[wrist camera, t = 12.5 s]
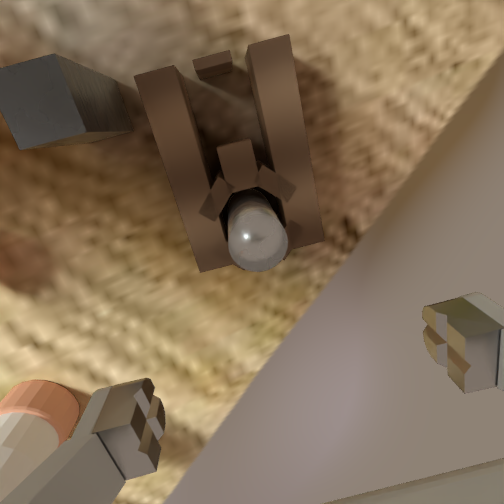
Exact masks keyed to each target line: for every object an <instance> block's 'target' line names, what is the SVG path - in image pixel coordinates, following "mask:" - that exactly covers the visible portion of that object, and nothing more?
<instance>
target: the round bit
mask: <svg viewBox="0 0 504 504" xmlns="http://www.w3.org/2000/svg"><path fill="white" fill-rule="evenodd" d="M228 247H229V252H230V255H231V257H232V259H233V260H234V261H235V262H236V263H237V264H238V265H239V266H240V267H242V268H244V269H246V270H249V271H254V272H260V271H266V270H269V269H271V268H273V267H274V266H276V265H277V264H278V263H279V262H280V261H281V260H282V259H283V257H284V256H285V254H286V251H287V247H288V238H287V234H286V232H285V230H284V228H283V226H282V224H281V223H280V221H279V219H278V218H277V216H276V214H275V212H274V211H273V209H272V207H271V205H270V204H269V202H268V200H267V199H266V197H265V196H264V195H263V194H262V193H261V192H259V191H257V190H255V189H245V190H241V191H238V192H237V193H235V194H234V195H233V196H232V197H231V199H230V201H229V204H228Z"/></svg>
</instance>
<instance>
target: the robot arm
mask: <svg viewBox="0 0 504 504" xmlns="http://www.w3.org/2000/svg"><path fill="white" fill-rule="evenodd" d="M422 318H423V320H424V321H425V322H426V323H427V324H428V325H427V326H426V328H425V329H424V331H423V335H424V342H425V345H426V348H427V350H428V352H429V354H430V355H431V357H432V358H433V359H434V360H435V361H436V363H437V364H440V365H442V366H445V367H447V369H448V376H449V377H450V378H451V379H452V380H453V382H454V383H455V384H456V385H457V386H458V387H459V388H460V389H461V390H462V391H463V392H464V394H465V393H470V392H474V391H479V390H483V389H488V388H492V387H497V386H498V389H500V390H502V391H504V308H503V307H502V306H500V305H499V304H497V303H496V302H494V301H492V300H491V299H489V298H488V297H486V296H485V295H483V294H482V293H478V292H475V293H471V294H467V295H464V296H460V297H458V298H455V299H451V300H447V301H444V302H440V303H436V304H432V305H429V306H424V308H423V311H422ZM154 389H155V387H154V385H153V383H152V381H151V379H149V378H143V379H139V380H134V381H130V382H126V383H121V384H117V385H114V386H110V387H105V388H101V389H98V390H96V391H95V392H94V393H93V394H92V396H91V399H90V401H89V403H88V405H87V407H86V409H85V411H84V413H83V415H82V417H81V419H80V421H79V423H78V425H77V427H76V429H75V431H74V433H73V435H72V437H71V439H70V440H67V441H64V442H63V443H62V444H61V445H60V446H59V447H58V448H57V449H56V450H55V451H54V452H53V453H52V454H51V455H50V456H49V457H48V458H46V459H45V460H44V461H43V462H42V463H41V464H40V465H39V466H38V467H37V468H36V469H35V470H34V471H33V472H32V473H31V474H30V475H28V476H27V477H26V478H25V479H24V480H23V481H22V482H21V483H20V484H19V485H18V486H17V487H16V488H15V489H14V490H13V491H12V492H10V493H9V494H8V495H7V496H6V497H5V498H4V499H3V500H2V501H1V502H0V504H112V502H113V501H114V499H115V498H116V496H117V495H118V493H119V492H120V490H121V489H122V487H123V486H124V484H125V483H126V482H125V480H129V479H132V478H136V477H139V476H143V475H146V474H150V473H153V472H156V471H157V466H158V461H159V456H160V451H161V447H160V445H159V443H158V440H159V439H160V438H161V436H162V435H163V434H164V430H165V424H166V423H165V411H164V407H163V404H162V402H161V399H160V398H158V397H156V396H154V395H153V393H154ZM322 504H504V458H502V459H498V460H494V461H490V462H486V463H482V464H478V465H474V466H470V467H466V468H462V469H458V470H454V471H450V472H446V473H442V474H438V475H434V476H430V477H427V478H422V479H419V480H414V481H410V482H406V483H402V484H398V485H394V486H390V487H386V488H383V489H378V490H375V491H370V492H367V493H362V494H359V495H354V496H351V497H346V498H342V499H338V500H334V501H330V502H326V503H322Z"/></svg>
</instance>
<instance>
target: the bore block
mask: <svg viewBox="0 0 504 504" xmlns="http://www.w3.org/2000/svg"><path fill="white" fill-rule="evenodd" d="M245 60H246V65H247V69H248V74H249V79H250V83H251V88H252V92H253V97H254V101H255V106H256V110H257V115H258V119H259V124H260V128H261V133H262V138H263V142H264V147H265V151H266V156H267V160H268V165H269V167H268V166H267V165H265V164H263V163H262V162H260V161H259V160H257V162H256V160H255V156H254V152H253V148H252V143H251V139H249V138H245V139H241V140H237V141H233V142H230V143H226V144H222V145H218V147H217V152H218V156H219V159H220V163H221V166H222V170H223V172H222V171H220V170H219V171H218V173H217V175H216V177H215V179H214V180H213V181H212V177H211V174H210V170H209V167H208V163H207V160H206V156H205V153H204V149H203V146H202V142H201V139H200V135H199V132H198V129H197V125H196V122H195V118H194V115H193V111H192V108H191V104H190V101H189V97H188V94H187V90H186V87H185V83H184V80H183V77H182V74H181V73H180V72H179V71H178V70H177V68H176V67H175V66H174V65H172V66H169V67H165V68H161V69H158V70H154V71H150V72H147V73H143V74H139V75H135V76H134V78H135V81H136V84H137V87H138V90H139V93H140V96H141V99H142V102H143V105H144V108H145V111H146V114H147V117H148V120H149V123H150V126H151V129H152V132H153V135H154V138H155V141H156V143H157V146H158V149H159V152H160V155H161V158H162V161H163V164H164V167H165V170H166V173H167V176H168V179H169V182H170V185H171V188H172V191H173V194H174V197H175V200H176V203H177V206H178V209H179V211H180V214H181V217H182V220H183V223H184V226H185V229H186V232H187V235H188V238H189V241H190V244H191V247H192V250H193V253H194V256H195V259H196V262H197V265H198V268H199V271H200V273H201V272H205V271H209V270H213V269H217V268H221V267H225V266H228V265H232V264H233V265H235V266H237V267H239V268H241V269H243V270H245V269H244V268H242V267H240V266H239V265H238V264H237V263H236V262H235V261H234V260H233V259H232V257H231V255H230V252H229V247H228V227H226V226H225V222H224V219H223V215H222V212H221V211H222V209H223V207H224V206H225V204H226V202H227V200H228V199H229V197H230V195H231V193H234V192H237V191H241V190H245V189H249V188H253V187H257V186H259V187H261V188H263V189H264V190H266V191H268V192H269V193H271V194H273V195H274V196H275V197H276V201H277V206H278V210H279V213H278V215H277V218H278V219H279V221H280V223H281V224H282V226H283V228H284V230H285V232H286V234H287V238H288V247H287V251H286V254H285V256H284V257H283V260H285V259H286V257H287V256H288V254H289V253H290V251H291V250H292V249H295V248H299V247H303V246H306V245H310V244H314V243H318V242H322V241H325V240H324V234H323V228H322V222H321V217H320V211H319V205H318V199H317V193H316V188H315V182H314V176H313V170H312V164H311V158H310V153H309V147H308V141H307V135H306V129H305V124H304V118H303V112H302V106H301V100H300V94H299V89H298V83H297V77H296V71H295V65H294V60H293V54H292V48H291V42H290V36H289V34H287V35H284V36H280V37H276V38H273V39H269V40H265V41H261V42H258V43H254V44H250V45H248V49H247V52H246V56H245ZM192 61H193V64H194V68H195V71H196V73H197V75H198V77H199V79H200V80H201V79H205V78H209V77H212V76H216V75H220V74H223V73H227V72H231V70H232V58H231V54H230V50H228V51H224V52H221V53H217V54H213V55H210V56H206V57H202V58H198V59H195V60H192Z"/></svg>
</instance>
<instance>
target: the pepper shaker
mask: <svg viewBox="0 0 504 504" xmlns="http://www.w3.org/2000/svg"><path fill="white" fill-rule="evenodd" d="M78 416H79V404H78V402H77V400H76V398H75V397H74V396H73V395H72V394H71V393H70V392H69V391H68V390H67V389H66V388H64V387H62V386H60V385H58V384H56V383H52V382H49V381H43V380H31V381H26V382H22V383H20V384H18V385H16V386H15V387H13V388H12V389H11V390H10V392H9V393H8V394H7V395H6V396H5V398H4V399H3V400H2V401H1V402H0V502H1V501H2V500H3V499H4V498H5V497H6V496H7V495H8V494H9V493H10V492H12V491H13V490H14V489H15V488H16V487H17V486H18V485H19V484H20V483H21V482H22V481H23V480H24V479H25V478H26V477H27V476H28V475H30V474H31V473H32V472H33V471H34V470H35V469H36V468H37V467H38V466H39V465H40V464H41V463H42V462H43V461H44V460H45V459H46V458H48V457H49V456H50V455H51V454H52V453H53V452H54V451H55V450H56V449H57V448H58V447H59V446H60V445H61V444H62V443H63V442H64V441H66V440H67V438H68V436H69V434H70V432H71V430H72V429H73V427H74V425H75V423H76V421H77V418H78Z"/></svg>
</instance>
